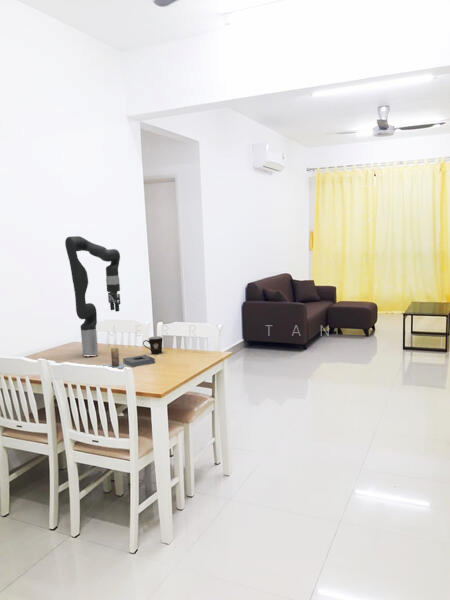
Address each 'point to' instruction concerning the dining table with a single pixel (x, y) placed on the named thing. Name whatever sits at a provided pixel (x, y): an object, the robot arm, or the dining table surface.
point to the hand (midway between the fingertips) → (114, 310)
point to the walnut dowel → (115, 357)
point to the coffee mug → (155, 345)
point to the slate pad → (117, 366)
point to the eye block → (138, 360)
